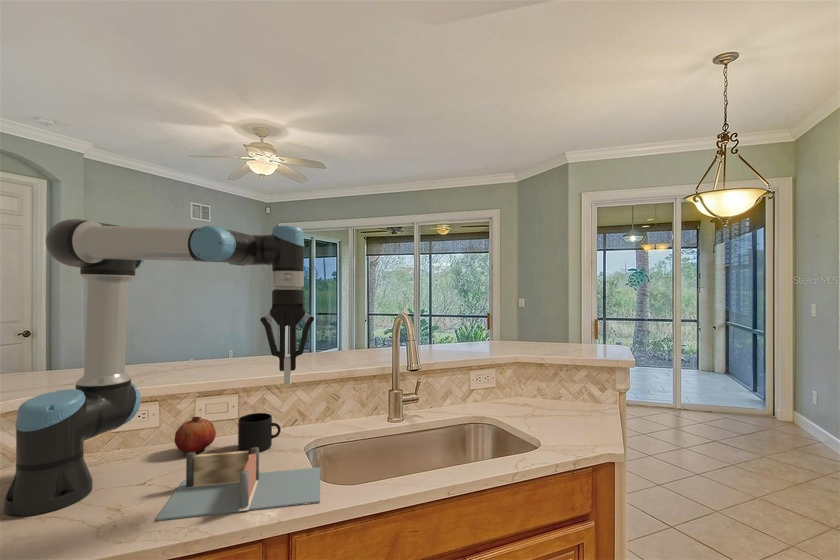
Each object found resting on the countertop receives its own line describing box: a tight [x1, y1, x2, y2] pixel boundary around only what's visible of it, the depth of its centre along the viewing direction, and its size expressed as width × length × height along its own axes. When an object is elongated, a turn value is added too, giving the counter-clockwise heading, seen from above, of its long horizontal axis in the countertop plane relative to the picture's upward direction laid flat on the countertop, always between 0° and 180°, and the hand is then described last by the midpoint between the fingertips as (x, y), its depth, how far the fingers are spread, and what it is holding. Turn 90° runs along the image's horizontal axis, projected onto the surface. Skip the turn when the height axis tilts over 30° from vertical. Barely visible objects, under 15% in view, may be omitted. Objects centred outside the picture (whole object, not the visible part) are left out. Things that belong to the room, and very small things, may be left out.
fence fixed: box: [185, 447, 260, 487], centre depth 103 cm, size 16×2×8 cm, turn 103°
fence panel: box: [240, 454, 256, 508], centre depth 97 cm, size 13×2×7 cm, turn 13°
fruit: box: [174, 416, 217, 453], centre depth 124 cm, size 11×10×10 cm
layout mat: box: [155, 466, 321, 522], centre depth 99 cm, size 33×18×1 cm, turn 103°
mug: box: [237, 412, 282, 454], centre depth 127 cm, size 9×12×9 cm
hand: (287, 383), depth 104 cm, fingers closed
